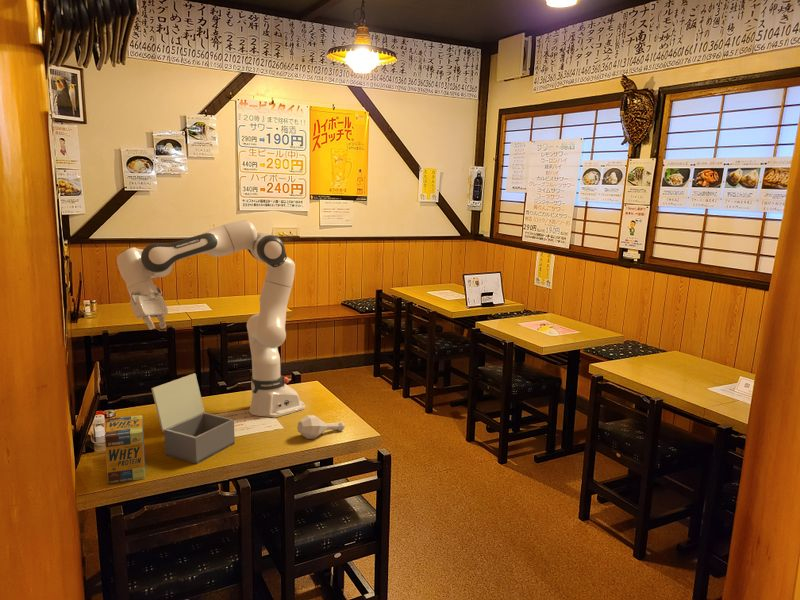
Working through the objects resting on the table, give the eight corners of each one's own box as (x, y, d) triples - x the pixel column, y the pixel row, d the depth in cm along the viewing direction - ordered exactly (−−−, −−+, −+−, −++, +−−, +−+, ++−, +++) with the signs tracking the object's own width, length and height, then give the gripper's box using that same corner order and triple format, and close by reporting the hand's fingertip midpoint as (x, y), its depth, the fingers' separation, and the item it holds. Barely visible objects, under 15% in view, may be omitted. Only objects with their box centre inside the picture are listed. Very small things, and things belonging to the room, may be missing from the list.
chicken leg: (349, 437, 216) (348, 414, 219) (305, 438, 206) (305, 414, 208) (337, 438, 223) (337, 416, 225) (294, 439, 212) (294, 416, 215)
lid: (163, 429, 194) (161, 430, 195) (204, 411, 211) (203, 411, 211) (152, 388, 193) (151, 388, 194) (195, 373, 210) (193, 373, 210)
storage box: (165, 454, 196) (164, 429, 195) (204, 435, 212) (203, 412, 211) (196, 464, 190) (195, 438, 189) (234, 443, 206) (233, 419, 205)
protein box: (107, 485, 176) (104, 436, 173) (110, 463, 190) (107, 418, 187) (145, 479, 180) (142, 431, 177) (145, 458, 194) (142, 413, 191)
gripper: (138, 288, 197) (154, 326, 197) (162, 289, 218) (177, 323, 217) (120, 295, 197) (136, 333, 197) (147, 296, 218) (161, 330, 218)
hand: (158, 328), depth 207 cm, fingers open, 8 cm apart
